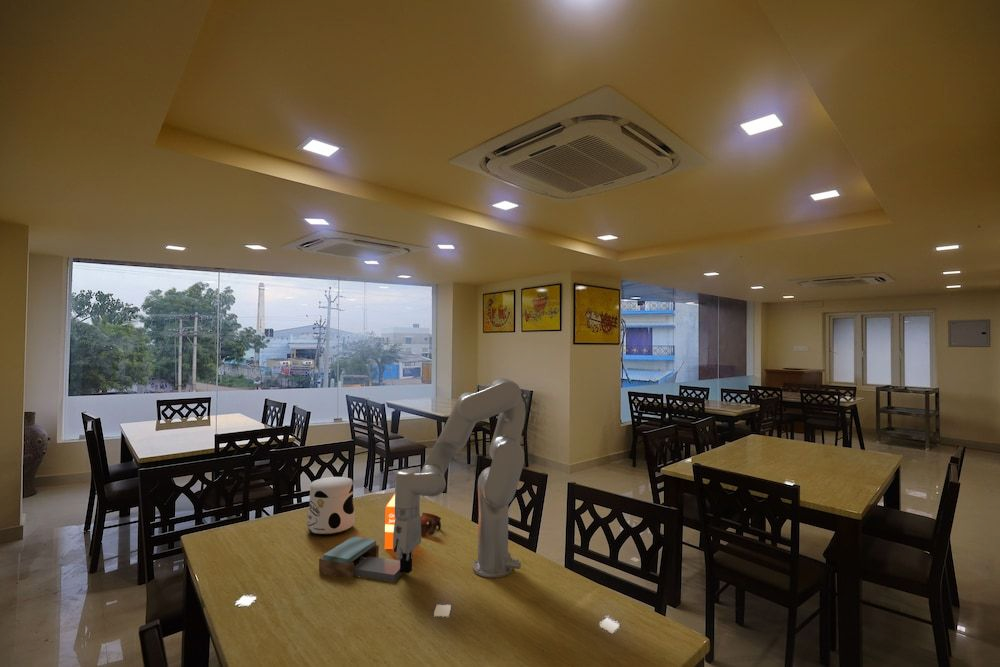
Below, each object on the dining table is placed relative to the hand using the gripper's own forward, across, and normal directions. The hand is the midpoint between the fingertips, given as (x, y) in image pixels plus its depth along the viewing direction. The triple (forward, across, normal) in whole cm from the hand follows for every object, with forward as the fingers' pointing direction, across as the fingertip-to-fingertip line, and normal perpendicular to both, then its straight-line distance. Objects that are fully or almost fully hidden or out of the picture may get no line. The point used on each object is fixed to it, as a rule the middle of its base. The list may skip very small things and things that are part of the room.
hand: (406, 571), depth 145 cm
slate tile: (+2, 0, +9) cm, 9 cm away
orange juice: (+1, +19, +13) cm, 23 cm away
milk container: (+2, +22, +44) cm, 50 cm away
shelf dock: (+1, 0, +20) cm, 20 cm away
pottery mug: (+2, +32, +8) cm, 33 cm away
